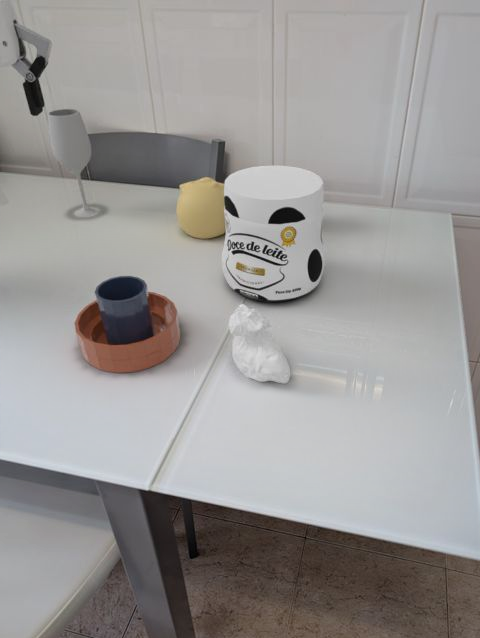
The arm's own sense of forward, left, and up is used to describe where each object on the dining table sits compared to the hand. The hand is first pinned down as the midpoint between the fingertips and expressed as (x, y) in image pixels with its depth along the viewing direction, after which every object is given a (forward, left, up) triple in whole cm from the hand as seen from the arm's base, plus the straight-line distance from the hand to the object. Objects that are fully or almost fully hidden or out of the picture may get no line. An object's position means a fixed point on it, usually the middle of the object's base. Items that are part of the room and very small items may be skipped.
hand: (0, 114), depth 66 cm
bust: (+33, -22, -28) cm, 49 cm away
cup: (+15, -15, -28) cm, 35 cm away
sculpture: (+25, +23, -28) cm, 44 cm away
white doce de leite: (+37, +1, -28) cm, 47 cm away
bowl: (+15, -15, -28) cm, 35 cm away
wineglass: (-2, +34, -28) cm, 44 cm away
